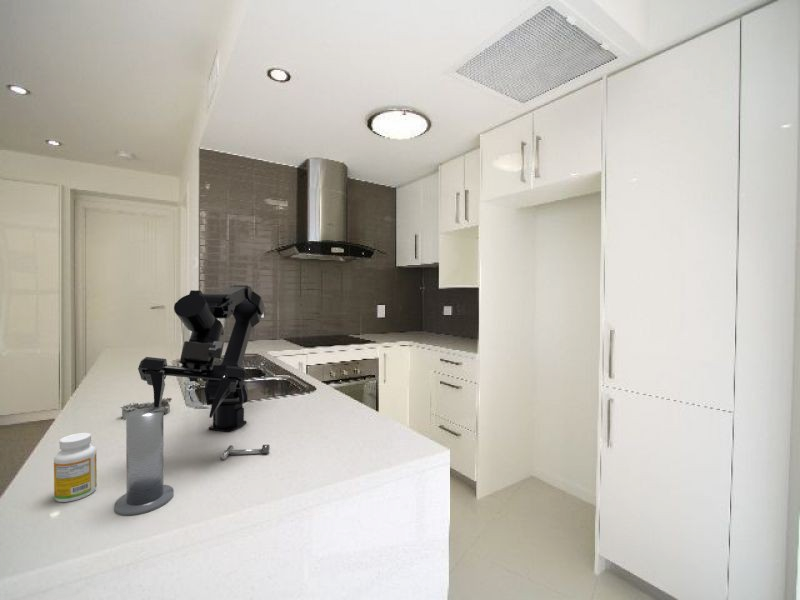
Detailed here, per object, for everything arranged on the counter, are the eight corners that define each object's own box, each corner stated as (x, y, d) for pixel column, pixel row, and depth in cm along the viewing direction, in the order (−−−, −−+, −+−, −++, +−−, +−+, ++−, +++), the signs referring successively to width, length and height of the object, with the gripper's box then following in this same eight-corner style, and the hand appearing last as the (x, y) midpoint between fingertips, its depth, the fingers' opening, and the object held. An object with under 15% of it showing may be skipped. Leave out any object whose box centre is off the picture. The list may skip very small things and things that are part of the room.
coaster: (100, 511, 57) (100, 507, 57) (146, 485, 65) (146, 481, 65) (143, 518, 56) (143, 515, 56) (184, 491, 64) (184, 487, 64)
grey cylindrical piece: (119, 500, 59) (119, 414, 59) (152, 485, 64) (152, 405, 64) (137, 508, 57) (137, 419, 57) (170, 493, 62) (170, 410, 61)
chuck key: (220, 460, 75) (220, 451, 75) (228, 450, 80) (228, 441, 80) (265, 458, 76) (266, 449, 76) (271, 448, 81) (271, 440, 81)
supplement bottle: (71, 486, 65) (71, 431, 65) (104, 485, 65) (104, 430, 65) (45, 503, 59) (44, 444, 59) (80, 502, 60) (80, 443, 60)
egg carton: (174, 411, 106) (174, 397, 105) (157, 420, 98) (157, 405, 98) (136, 411, 105) (136, 397, 105) (116, 420, 98) (116, 405, 98)
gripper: (149, 316, 70) (117, 395, 61) (253, 331, 76) (239, 404, 67) (155, 343, 78) (128, 417, 69) (248, 355, 84) (235, 423, 75)
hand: (183, 415), depth 70 cm, fingers open, 9 cm apart
